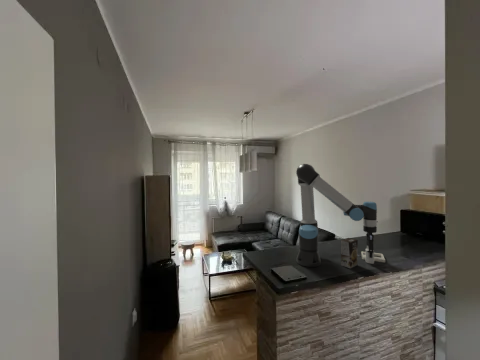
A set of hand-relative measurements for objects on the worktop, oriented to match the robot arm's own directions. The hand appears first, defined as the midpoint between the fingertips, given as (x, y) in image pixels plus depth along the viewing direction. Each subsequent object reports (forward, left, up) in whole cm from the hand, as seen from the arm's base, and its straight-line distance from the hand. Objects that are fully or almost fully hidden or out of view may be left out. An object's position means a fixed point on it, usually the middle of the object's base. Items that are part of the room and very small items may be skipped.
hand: (369, 258), depth 145 cm
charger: (0, -1, -2) cm, 2 cm away
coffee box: (-12, -12, -2) cm, 17 cm away
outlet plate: (+2, +8, -2) cm, 9 cm away
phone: (-9, +11, -2) cm, 15 cm away
